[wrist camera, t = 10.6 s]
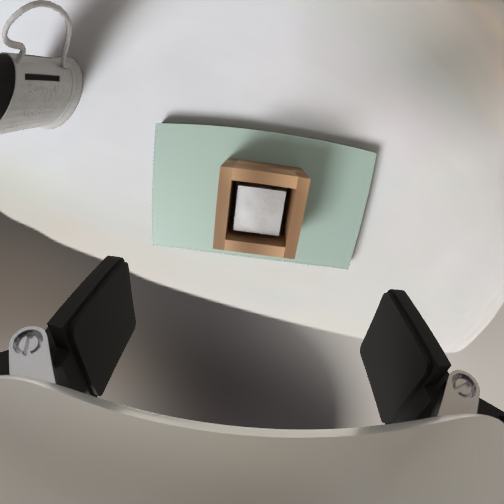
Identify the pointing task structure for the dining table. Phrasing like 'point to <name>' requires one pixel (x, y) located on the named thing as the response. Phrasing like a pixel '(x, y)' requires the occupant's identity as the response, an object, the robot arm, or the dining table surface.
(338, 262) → the base board
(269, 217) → the white plaster cube
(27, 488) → the robot arm
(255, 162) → the walnut collar
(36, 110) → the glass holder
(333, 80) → the dining table surface
